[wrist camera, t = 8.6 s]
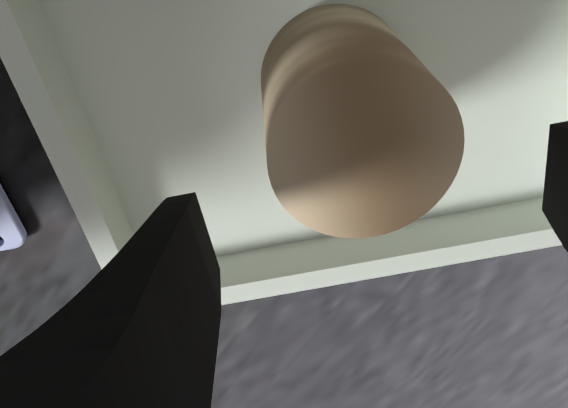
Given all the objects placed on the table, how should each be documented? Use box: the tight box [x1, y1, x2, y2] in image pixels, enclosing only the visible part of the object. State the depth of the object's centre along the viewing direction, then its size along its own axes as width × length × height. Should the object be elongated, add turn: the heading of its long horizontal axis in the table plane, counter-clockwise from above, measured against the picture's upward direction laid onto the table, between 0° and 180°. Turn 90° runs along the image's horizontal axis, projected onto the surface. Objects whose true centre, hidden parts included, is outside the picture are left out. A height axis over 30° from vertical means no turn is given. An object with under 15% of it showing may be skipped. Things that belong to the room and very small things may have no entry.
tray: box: [0, 0, 568, 305], centre depth 16 cm, size 18×14×2 cm
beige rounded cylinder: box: [261, 4, 465, 238], centre depth 15 cm, size 5×5×6 cm
